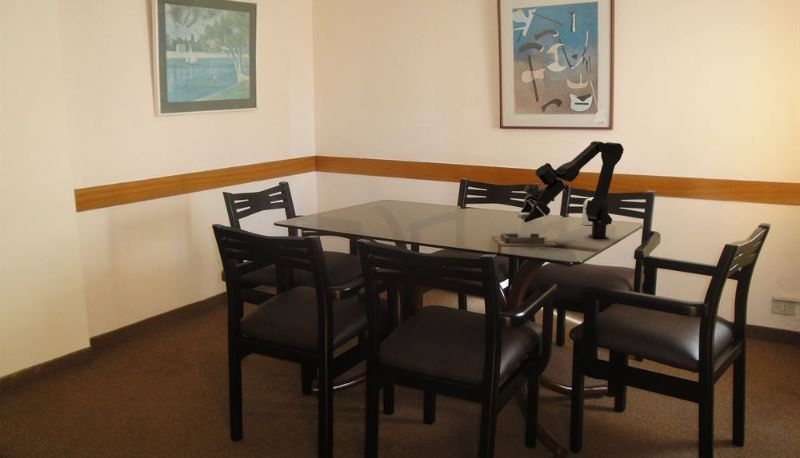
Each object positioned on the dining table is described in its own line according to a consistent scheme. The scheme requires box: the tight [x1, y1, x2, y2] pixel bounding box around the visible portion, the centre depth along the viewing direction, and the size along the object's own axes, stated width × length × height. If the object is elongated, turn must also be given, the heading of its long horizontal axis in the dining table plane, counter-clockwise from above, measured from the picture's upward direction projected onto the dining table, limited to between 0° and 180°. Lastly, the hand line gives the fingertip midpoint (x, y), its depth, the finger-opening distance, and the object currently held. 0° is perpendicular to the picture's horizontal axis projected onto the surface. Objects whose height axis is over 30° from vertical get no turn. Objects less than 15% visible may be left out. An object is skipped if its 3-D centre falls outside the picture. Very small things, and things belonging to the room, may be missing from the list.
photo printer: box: [581, 196, 594, 226], centre depth 322 cm, size 10×4×12 cm, turn 123°
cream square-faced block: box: [517, 212, 532, 238], centre depth 281 cm, size 5×4×11 cm
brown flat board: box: [491, 233, 557, 247], centre depth 282 cm, size 16×22×2 cm
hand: (521, 219), depth 280 cm, fingers open, 9 cm apart
